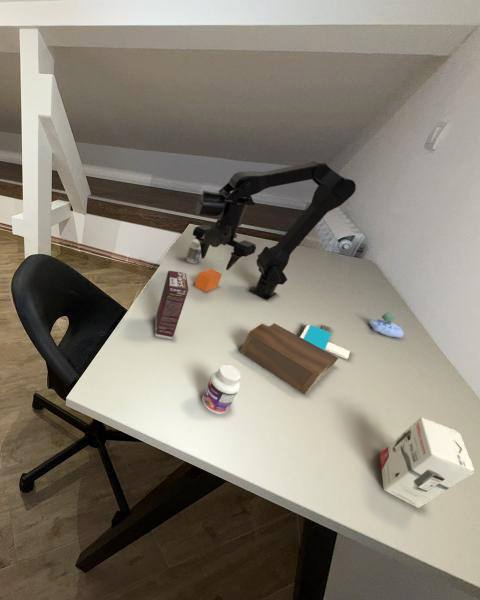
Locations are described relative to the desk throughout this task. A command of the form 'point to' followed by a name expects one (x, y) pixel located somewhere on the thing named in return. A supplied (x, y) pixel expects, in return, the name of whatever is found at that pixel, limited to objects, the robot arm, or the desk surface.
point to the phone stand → (322, 339)
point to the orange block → (208, 280)
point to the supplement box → (171, 304)
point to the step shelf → (287, 356)
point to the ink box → (424, 462)
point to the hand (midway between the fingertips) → (214, 263)
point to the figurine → (387, 326)
